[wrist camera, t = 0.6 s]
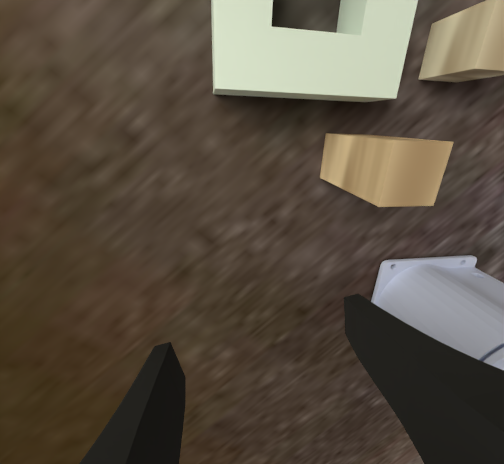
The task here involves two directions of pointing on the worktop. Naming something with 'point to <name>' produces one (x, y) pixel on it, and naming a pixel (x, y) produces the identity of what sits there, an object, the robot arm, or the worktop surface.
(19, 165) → the worktop surface
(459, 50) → the short pin
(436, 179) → the long pin
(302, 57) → the socket
